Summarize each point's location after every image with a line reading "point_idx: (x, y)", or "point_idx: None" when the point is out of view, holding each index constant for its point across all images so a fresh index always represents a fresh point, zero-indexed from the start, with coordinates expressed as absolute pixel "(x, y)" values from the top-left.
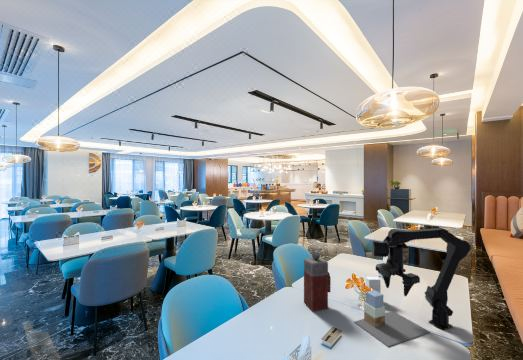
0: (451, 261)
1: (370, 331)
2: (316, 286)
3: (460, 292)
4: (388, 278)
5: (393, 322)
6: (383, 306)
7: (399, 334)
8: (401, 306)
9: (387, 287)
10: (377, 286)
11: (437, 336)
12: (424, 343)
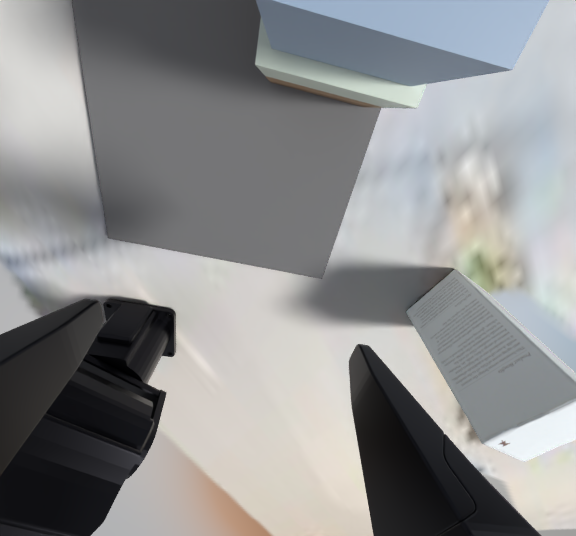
0: None
1: None
2: None
3: (246, 501)
4: (390, 504)
5: (254, 163)
6: (263, 34)
7: (139, 34)
8: (317, 344)
9: (357, 349)
10: (469, 377)
11: (74, 231)
12: (29, 97)
